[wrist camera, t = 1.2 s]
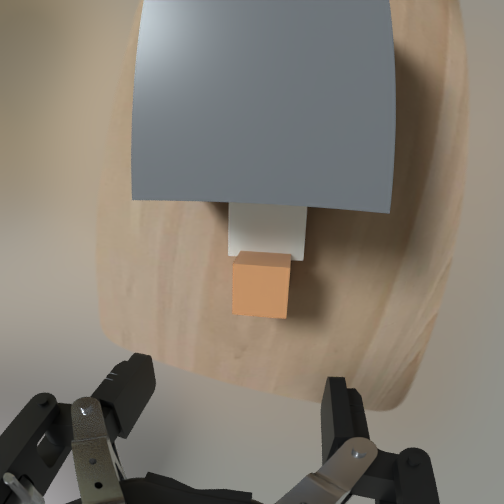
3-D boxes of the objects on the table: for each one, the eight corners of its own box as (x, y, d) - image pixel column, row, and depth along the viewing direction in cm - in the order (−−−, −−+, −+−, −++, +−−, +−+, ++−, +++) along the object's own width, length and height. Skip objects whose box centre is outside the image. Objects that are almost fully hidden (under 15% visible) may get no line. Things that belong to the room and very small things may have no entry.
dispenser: (196, 14, 21) (151, -39, 12) (356, 16, 20) (381, -44, 10) (188, 195, 26) (132, 217, 17) (353, 204, 25) (387, 232, 15)
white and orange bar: (237, 57, 22) (224, 37, 17) (311, 59, 21) (314, 37, 17) (232, 286, 28) (219, 312, 23) (299, 292, 27) (299, 319, 23)
